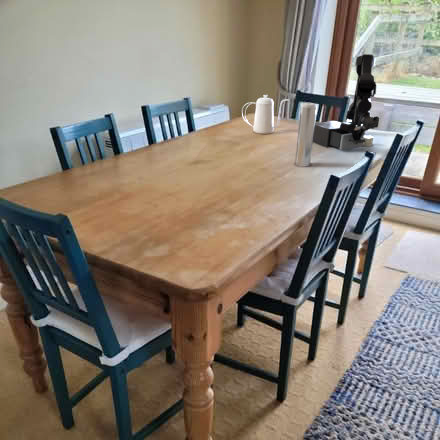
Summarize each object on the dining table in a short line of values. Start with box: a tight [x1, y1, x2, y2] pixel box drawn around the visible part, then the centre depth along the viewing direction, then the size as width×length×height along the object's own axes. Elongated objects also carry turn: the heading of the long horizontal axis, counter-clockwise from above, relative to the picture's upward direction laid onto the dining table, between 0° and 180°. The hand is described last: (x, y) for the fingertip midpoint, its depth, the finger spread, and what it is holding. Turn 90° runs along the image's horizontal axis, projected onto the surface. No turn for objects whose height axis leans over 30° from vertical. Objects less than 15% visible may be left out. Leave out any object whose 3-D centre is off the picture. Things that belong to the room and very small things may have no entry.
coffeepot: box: [241, 94, 290, 135], centre depth 242 cm, size 11×25×19 cm, turn 84°
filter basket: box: [363, 135, 375, 147], centre depth 226 cm, size 5×5×4 cm
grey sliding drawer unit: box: [313, 120, 342, 148], centre depth 228 cm, size 14×15×9 cm
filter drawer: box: [328, 129, 366, 151], centre depth 219 cm, size 17×13×7 cm
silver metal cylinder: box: [294, 102, 317, 167], centre depth 192 cm, size 6×6×25 cm
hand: (356, 143), depth 215 cm, fingers closed, pressing on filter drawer
